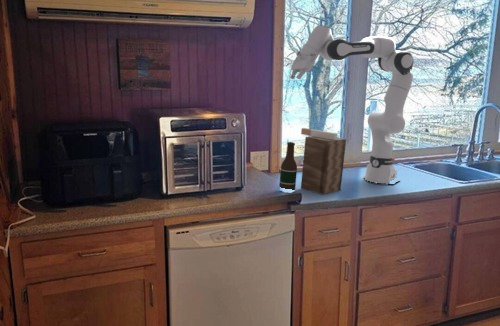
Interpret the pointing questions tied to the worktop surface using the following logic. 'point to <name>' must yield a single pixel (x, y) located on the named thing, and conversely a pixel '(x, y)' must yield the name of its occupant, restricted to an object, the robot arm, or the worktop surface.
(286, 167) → the beer bottle
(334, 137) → the bar
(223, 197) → the worktop surface
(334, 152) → the shelf
